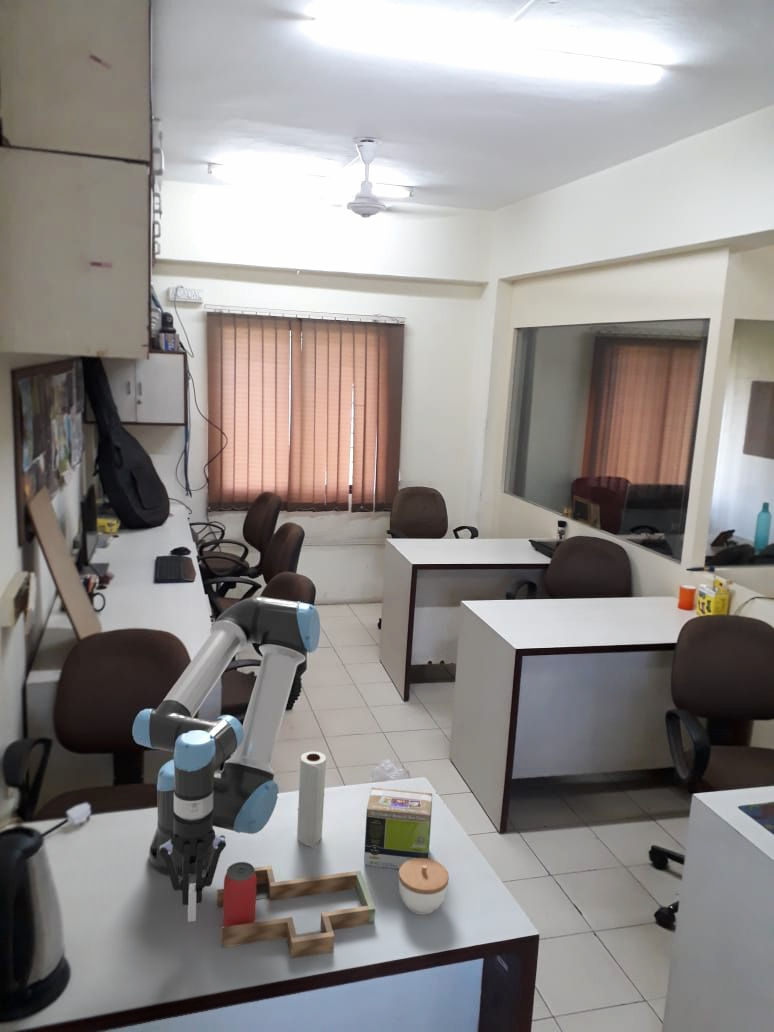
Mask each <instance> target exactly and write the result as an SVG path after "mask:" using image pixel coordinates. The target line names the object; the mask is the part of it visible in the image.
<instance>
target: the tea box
mask: <svg viewBox="0 0 774 1032" xmlns="http://www.w3.org/2000/svg"><path fill="white" fill-rule="evenodd" d="M432 805H433V793H430V792H421V791H413V790H411V791H410V790H409V791H408V790H402V789H393V788H392V789H391V788H382V787H381V788H379V787H371V789H370V795H369V798H368V803H367V807H366V815H365V816H366V817H365V833H364V834H365V835H364V855H363V856H364V857H363V865H364V866H373V867H382V868H388V869H389V868H391V869H400V867H401V865H402V864H403V863H405V862H406V861H408V860H411V859H414V858H427V859H429V855H430V854H429V853H430V843H431V827H432V811H433V809H432V808H433V806H432Z"/></svg>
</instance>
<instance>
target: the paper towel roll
mask: <svg viewBox="0 0 774 1032" xmlns="http://www.w3.org/2000/svg"><path fill="white" fill-rule="evenodd" d="M326 764H327V757H326V755H325V754H324V753H323V752H320V751H312V750H311V751H307V752H304V753H302V754H301V756H300V765H299V786H298V789H299V790H298V809H297V810H298V811H297V827H296V828H297V829H296V836H297V839H298V841H300V842H301V843H302V844H304V845H305V846H308V847H311V848H313V849H314V850H315V849H316V843H318V842H319V841H320V840H321V839H322V836H323V826H324V825H323V822H324V804H325V803H324V802H325V785H326V784H325V783H326V766H327V765H326Z"/></svg>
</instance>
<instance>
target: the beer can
mask: <svg viewBox="0 0 774 1032" xmlns="http://www.w3.org/2000/svg"><path fill="white" fill-rule="evenodd" d="M254 868H255V867H254V866H253V864H251V863H249V862H246V861H238V862H235V863H232V864H231V865H230V866H229V867H227V870H226V873H225V875H224V879H223V889H224V898H223V909H222V923H223V927H228V926H235V925H242V924H248V923H255V922H256V908H257V907H256V905H257V900H256V884H257V877H256V874H255V872H254V870H255V869H254Z"/></svg>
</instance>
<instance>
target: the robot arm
mask: <svg viewBox="0 0 774 1032" xmlns="http://www.w3.org/2000/svg"><path fill="white" fill-rule="evenodd" d="M320 636H321V622H320V614H319V611H318V610H317V608H316V607H315V606H314V605H313V604H312V603H311V604H310V603H305V602H301V601H293V600H287V599H279V598H274V597H273V598H272V597H266V596H260V595H259V596H258V595H257V596H251V597H248V598H245V599H242V600H241V601H238V602H236V603H234V604H233V605H231V606H230V607H228V608H227V609H225V611H223V612H222V613H221V614H220V615H218V617H217V618H216V620H215V621H214V622H213V623H212V625H211V626H210V630H209V636H208V638H206V640H205V642H204V643H203V645H202V646H201V647H200V649H199V650H198V652H197V653H196V654H195V656H194V657H193V658H192V660H191V661H190V663H189V664H188V665H187V667H186V668H185V669H184V671H183V672H182V673H181V675H180V677H179V678H178V679H177V681H176V682H175V683H174V685H173V686H172V687H171V689H170V690H169V692H168V693H167V694H166V696H165V698H164V699H163V700H162V702H161V703H159V705H158V706H157V708H144V709H143V710H140V712H139V713H138V714H137V715H136V717H135V719H134V721H133V725H132V730H131V731H132V736H133V740H134V741H135V743H136V744H138V745H140V746H142V747H143V746H144V747H147V748H150V749H153V750H154V749H156V750H159V751H166V752H172V753H173V759H171V760H169V761H167V762H166V763H164V764H163V766H161V768H160V769H159V771H158V775H157V784H156V790H157V793H156V794H157V795H156V796H157V797H156V798H157V824H156V825H157V826H156V830H155V832H154V835H153V837H152V841H151V843H150V846H149V849H148V852H149V853H148V855H149V856H148V860H149V864H150V866H151V867H152V868H153V869H154V870H155V871H157V872H159V873H160V874H164V875H166V876H169V879H170V883H171V886H172V889H173V891H175V892H176V891H181V892H182V893H181V900H182V902H181V904H182V906H187V922H189V923H190V922H196V921H197V904H201V903H202V902H203V889H204V888H206V887H207V888H208V887H211V886H212V884H213V881H214V877H215V873H216V870H217V867H218V863H219V860H220V858H221V853H222V852H223V850H224V849H225V847H226V846H227V843H226V836H225V835H222V834H221V835H217V834H216V832H215V829H214V827H215V828H216V827H217V828H219V829H225V830H229V831H233V832H236V833H238V834H239V833H244V834H249V835H253V834H258V833H259V832H261V831H262V830H263V829H264V827H265V826H266V825H267V824H268V823H269V822H270V820H271V817H272V815H273V813H274V812H275V811H274V810H275V807H276V805H277V801H278V797H279V795H278V794H279V785H278V783H277V782H276V781H275V780H274V777H275V772H274V769H272V767H271V766H272V765H271V763H272V761H273V756H274V752H275V749H276V745H277V741H278V738H279V734H280V730H281V725H282V722H283V719H284V716H285V712H286V708H287V704H288V701H289V697H290V694H291V690H292V686H293V683H294V678H295V676H296V672H297V668H298V666H299V665H301V664H302V663H304V662H305V661H306V659H307V655H308V654H310V653H315V651H316V650H317V648H318V646H319V642H320ZM255 643H256V644H258V645H259V646H258V650H259V651H260V653H261V655H262V658H261V662H260V665H259V669H258V673H257V676H256V680H255V683H254V686H253V689H252V692H251V695H250V698H249V699H250V700H249V703H248V706H247V710H246V713H245V716H244V720H243V724H242V723H241V721H239V720H238V718H236V717H235V716H233V715H230V714H223V715H221V716H218V717H217V718H214V719H213V720H209V719H203V718H198V717H195V716H196V714H197V712H198V711H199V710H200V708H201V706H202V705H203V704H204V702H205V700H206V699H207V697H208V696H209V695H210V693H211V692H212V690H213V689H214V687H215V686H216V684H217V682H218V681H219V680H220V678H221V677H222V675H223V673H224V672H225V670H226V669H227V668H228V666H229V664H230V663H231V662H232V660H233V658H234V657H235V655H236V654H237V653H239V652H241V651H243V650H244V649H245V648H246V647H247V645H248V644H255ZM222 765H223V768H222V770H220V769H219V768H220V767H221V766H222ZM205 869H206V871H205V874H203V871H204V870H205ZM193 874H195V882H193V883H192V882H191V883H190V875H193ZM203 875H204V876H203ZM180 877H181V878H182V879H180Z"/></svg>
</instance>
